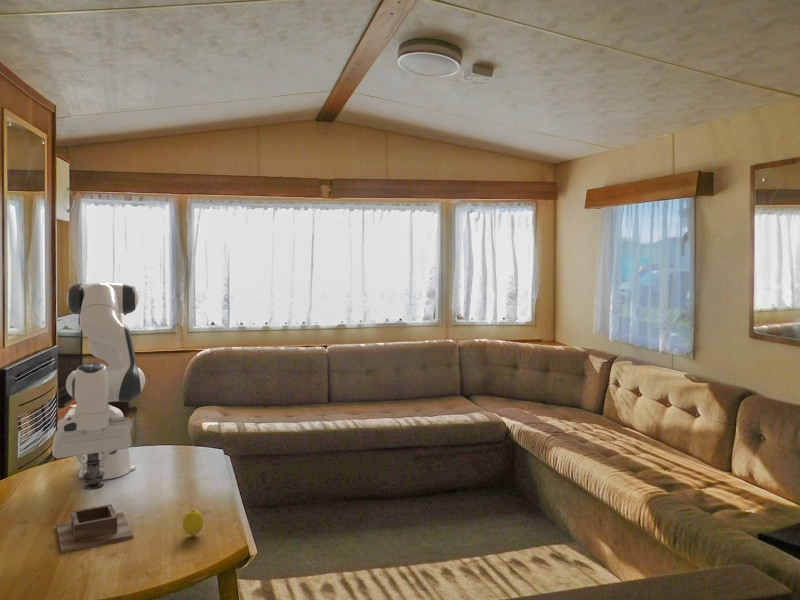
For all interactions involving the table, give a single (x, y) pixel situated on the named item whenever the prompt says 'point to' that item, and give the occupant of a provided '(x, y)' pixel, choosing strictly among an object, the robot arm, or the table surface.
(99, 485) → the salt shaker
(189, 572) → the table surface
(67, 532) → the caddy
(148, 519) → the table surface
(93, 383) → the robot arm
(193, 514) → the lemon
